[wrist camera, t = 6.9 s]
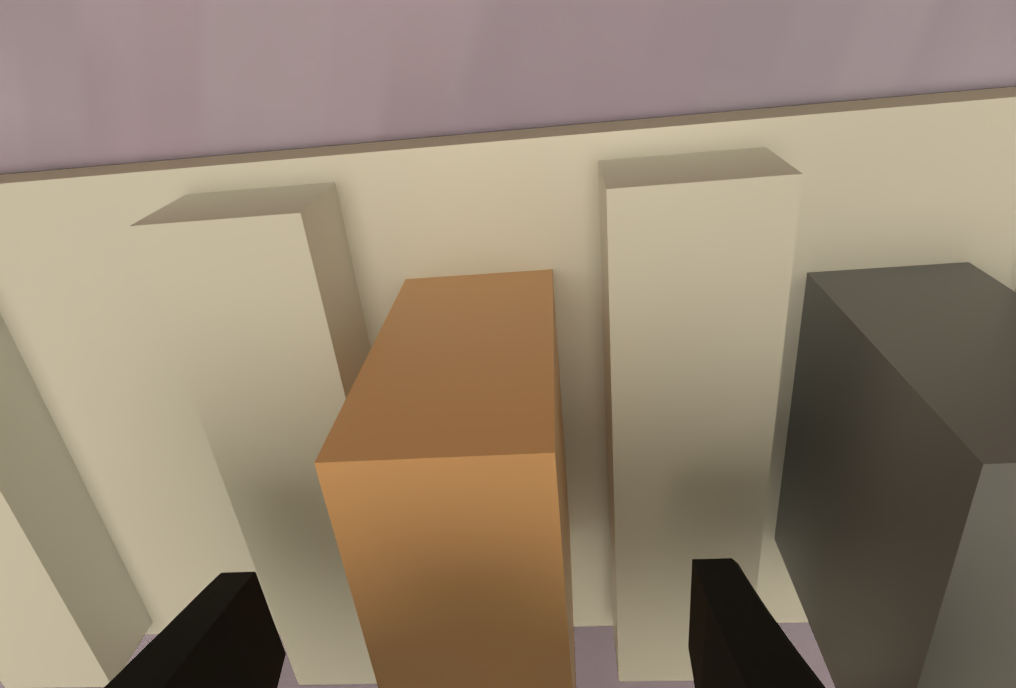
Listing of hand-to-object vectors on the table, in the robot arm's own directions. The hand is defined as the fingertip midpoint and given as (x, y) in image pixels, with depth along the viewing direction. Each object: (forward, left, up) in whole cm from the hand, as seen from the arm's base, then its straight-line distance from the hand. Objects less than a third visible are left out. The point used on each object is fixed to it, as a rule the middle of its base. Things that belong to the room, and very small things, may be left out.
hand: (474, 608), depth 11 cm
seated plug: (0, -8, -5) cm, 9 cm away
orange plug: (+1, 0, -5) cm, 5 cm away
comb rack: (0, 0, -6) cm, 6 cm away
